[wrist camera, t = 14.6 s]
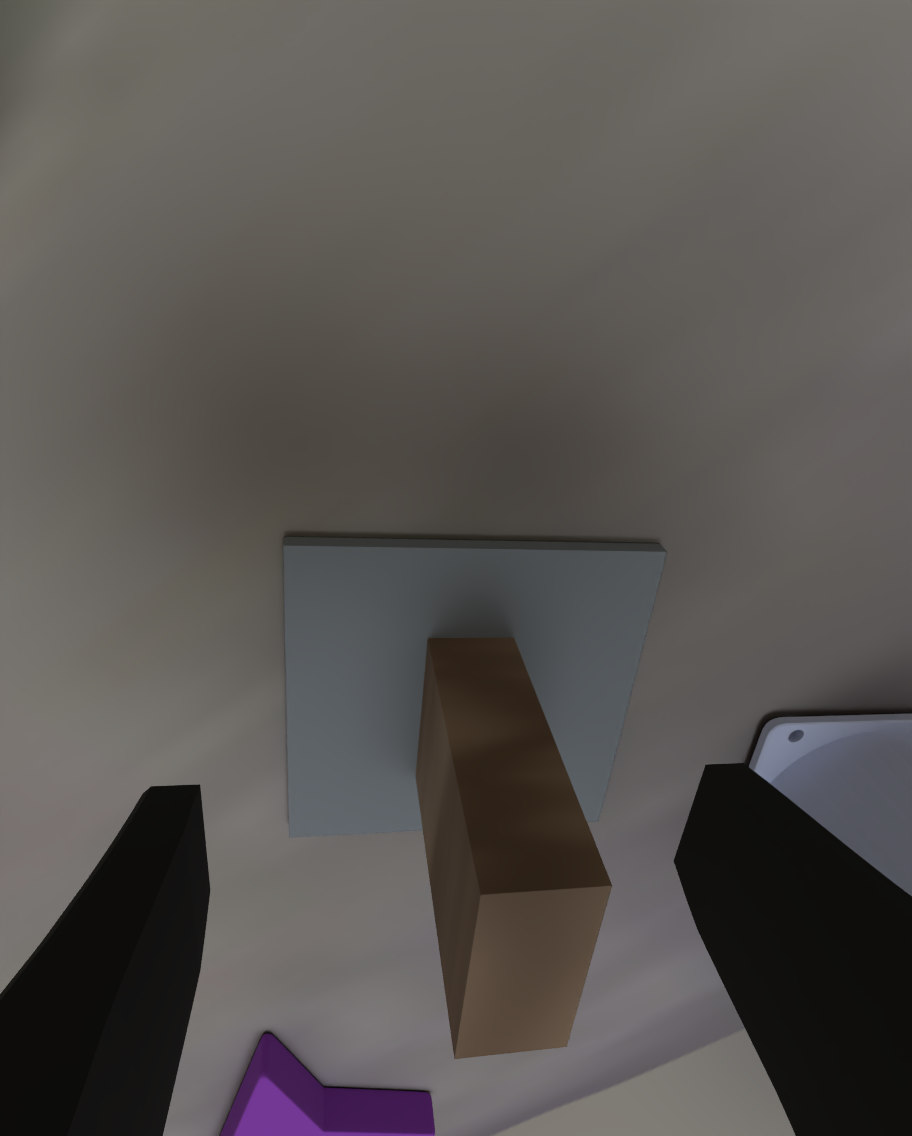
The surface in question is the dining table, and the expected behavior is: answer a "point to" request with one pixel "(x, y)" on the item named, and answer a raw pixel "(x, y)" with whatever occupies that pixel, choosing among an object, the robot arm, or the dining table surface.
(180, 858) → the robot arm
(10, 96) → the dining table surface
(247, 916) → the dining table surface
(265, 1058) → the arrowhead
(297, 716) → the rubber mat
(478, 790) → the tall wooden plank
